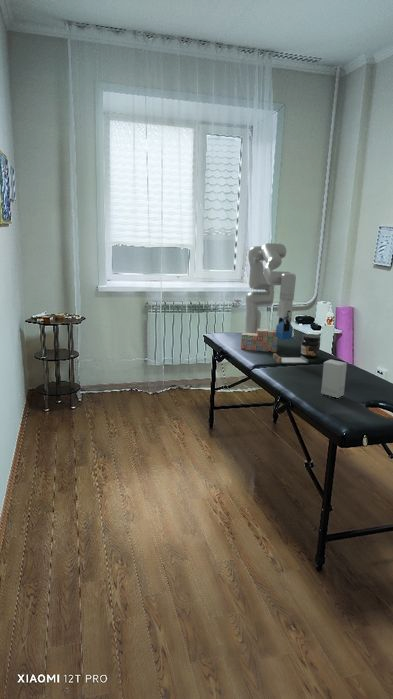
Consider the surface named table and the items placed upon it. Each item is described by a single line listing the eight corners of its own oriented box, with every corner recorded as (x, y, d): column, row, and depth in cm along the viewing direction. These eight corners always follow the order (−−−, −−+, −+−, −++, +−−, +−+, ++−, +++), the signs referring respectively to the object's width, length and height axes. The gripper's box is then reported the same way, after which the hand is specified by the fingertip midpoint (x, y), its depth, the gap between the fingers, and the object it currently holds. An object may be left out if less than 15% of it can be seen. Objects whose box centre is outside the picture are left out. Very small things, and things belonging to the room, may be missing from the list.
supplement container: (299, 357, 262) (301, 336, 259) (300, 352, 272) (303, 333, 269) (318, 359, 260) (320, 339, 256) (319, 355, 269) (321, 335, 266)
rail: (272, 358, 258) (273, 353, 257) (274, 358, 258) (275, 353, 257) (279, 363, 248) (279, 358, 247) (281, 363, 248) (281, 358, 248)
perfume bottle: (275, 336, 252) (277, 315, 248) (284, 336, 254) (286, 314, 251) (282, 339, 246) (284, 317, 243) (291, 338, 249) (293, 317, 246)
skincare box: (343, 396, 203) (348, 362, 199) (337, 400, 198) (341, 365, 194) (326, 391, 208) (330, 358, 204) (319, 394, 203) (323, 361, 199)
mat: (275, 358, 258) (276, 355, 257) (301, 358, 260) (302, 355, 260) (281, 363, 249) (281, 360, 249) (308, 363, 252) (308, 360, 251)
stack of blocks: (240, 349, 273) (242, 329, 270) (240, 347, 279) (242, 327, 276) (276, 352, 271) (278, 332, 268) (276, 349, 278) (278, 329, 274)
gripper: (274, 294, 252) (271, 325, 256) (285, 299, 235) (282, 332, 240) (287, 294, 253) (284, 325, 258) (299, 299, 237) (296, 332, 241)
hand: (283, 329), depth 249 cm, fingers closed on perfume bottle, 7 cm apart
